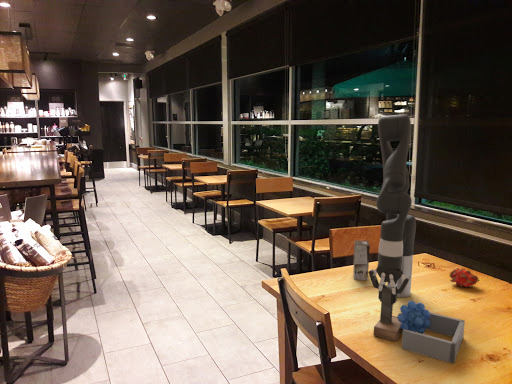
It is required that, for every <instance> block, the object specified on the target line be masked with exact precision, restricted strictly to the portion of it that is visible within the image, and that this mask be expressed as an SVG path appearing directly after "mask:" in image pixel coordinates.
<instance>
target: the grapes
mask: <svg viewBox="0 0 512 384" xmlns="http://www.w3.org/2000/svg"><path fill="white" fill-rule="evenodd" d="M399 311H400V313H398V314H397V316H396V317H397V318H398V321H400V322H402V323H401V324H400V326H401V329H402V330H403V329H406V330H410V331H414V332H417V333H421V334H425V332H426V330H425V328H424V327H429V326H430V320H429V319H428V318H429V317H430V311H429V310H428V309H426V306H425V304H424V303H423V302H417V303H416V302H415V301H414V300H409V301H408V302H407V305H406V304H402V305H401V306H400V307H399Z"/></svg>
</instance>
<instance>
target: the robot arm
mask: <svg viewBox="0 0 512 384" xmlns="http://www.w3.org/2000/svg"><path fill="white" fill-rule="evenodd" d="M411 123H412V122H411V118H410V115H408V114H393V115H391V114H390V115H383V116H380V117H379V119H378V123H377V132H378V136H379V143H380V151H381V159H382V171H383V172H382V174H383V180H382V181H383V182H382V187H381V189H380V191H379V194H378V196H377V199H376V208H377V211H378V212H380V213H382V214H386V217H385V219H386V220H383V221H382V222H381V224H380V234H379V235H380V237H379V244H378V248H377V249H378V251H377V252H378V255H377V256H378V257H377V267H376V268H375V269H374V268H372V269H369V270H368V277H369V278H370V281H371V284H372V287H373V288H374V289H377V290H378V300H379V302H380V303H381V300H382V287H384V286H385V285H388V286H391V288H392V294H391V304H392V305H393V306H394V305H395V304H396V303H397V301H398V298H408V297H410V296H411V290H412V289H411V288H412V278H413V277H412V275H413V260H414V246H415V237H416V230H417V219H416V217H415V215H410V214H409V213H410V210H411V207H412V202H413V199H412V197H411V195H410V194H409V193H408V191H409V189H410V173H409V169H408V167H407V161H408V154H409V148H410V142H411V134H412V124H411ZM395 141H396V142H397V141H398V142H399V143H398V145H397V146H396V148H395V149H394V150H393V148H392V146H391V142H395ZM403 239H404V240H403ZM377 275H378V277H379V278H380V280H379V281H378V277H377ZM386 283H387V284H386Z"/></svg>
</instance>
